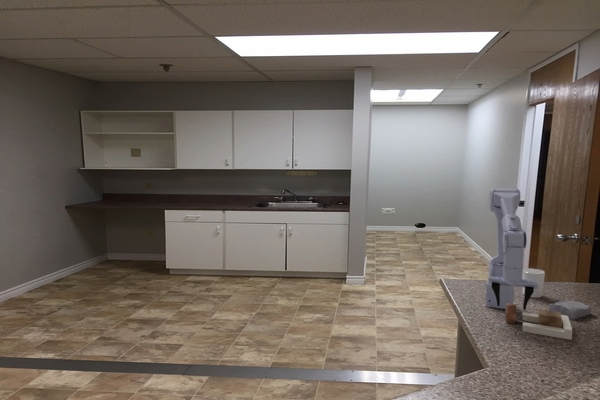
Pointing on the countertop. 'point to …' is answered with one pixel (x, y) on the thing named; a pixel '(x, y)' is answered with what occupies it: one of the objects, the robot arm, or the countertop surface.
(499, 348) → the countertop surface
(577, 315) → the stone block
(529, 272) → the white cup
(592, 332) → the countertop surface
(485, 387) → the countertop surface
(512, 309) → the string block
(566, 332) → the frame
